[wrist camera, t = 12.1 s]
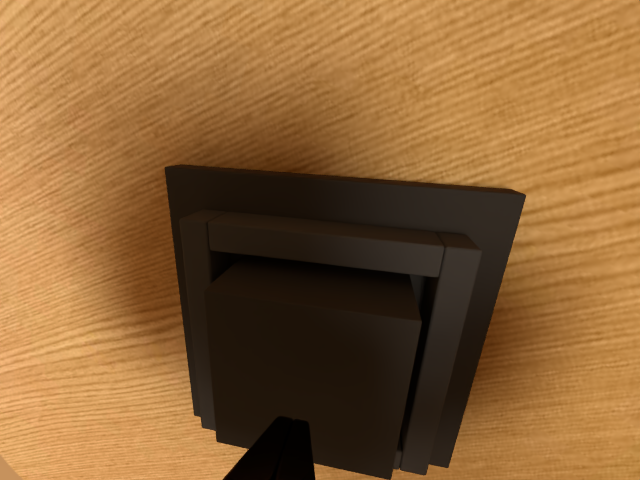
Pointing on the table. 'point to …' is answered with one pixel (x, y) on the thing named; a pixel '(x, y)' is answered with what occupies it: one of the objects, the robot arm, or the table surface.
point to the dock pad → (358, 252)
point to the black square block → (313, 356)
